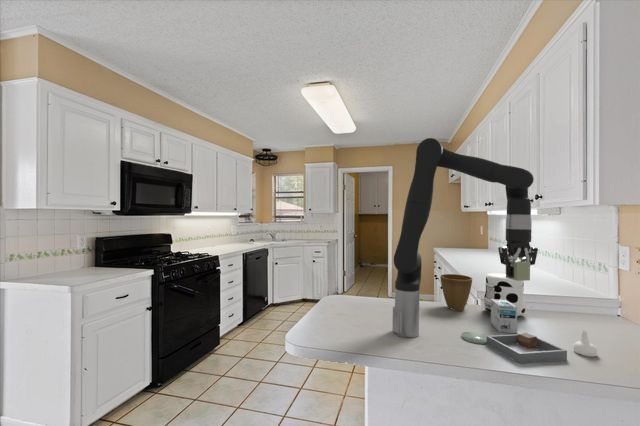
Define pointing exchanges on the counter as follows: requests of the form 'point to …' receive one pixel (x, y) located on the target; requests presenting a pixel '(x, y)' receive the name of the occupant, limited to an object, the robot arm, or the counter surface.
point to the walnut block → (527, 340)
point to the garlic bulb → (585, 346)
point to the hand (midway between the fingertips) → (517, 276)
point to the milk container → (504, 292)
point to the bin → (526, 357)
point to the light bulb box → (504, 316)
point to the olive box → (521, 271)
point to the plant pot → (456, 290)
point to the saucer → (475, 337)
